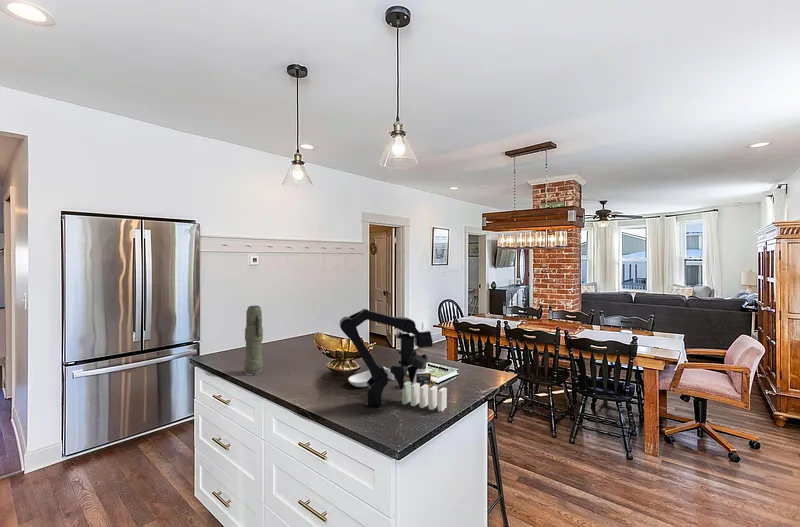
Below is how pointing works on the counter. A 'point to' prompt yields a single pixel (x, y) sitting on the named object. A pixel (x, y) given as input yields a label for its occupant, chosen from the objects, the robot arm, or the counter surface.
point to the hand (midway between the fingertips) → (407, 385)
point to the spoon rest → (365, 378)
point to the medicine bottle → (423, 376)
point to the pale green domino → (406, 393)
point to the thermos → (253, 340)
